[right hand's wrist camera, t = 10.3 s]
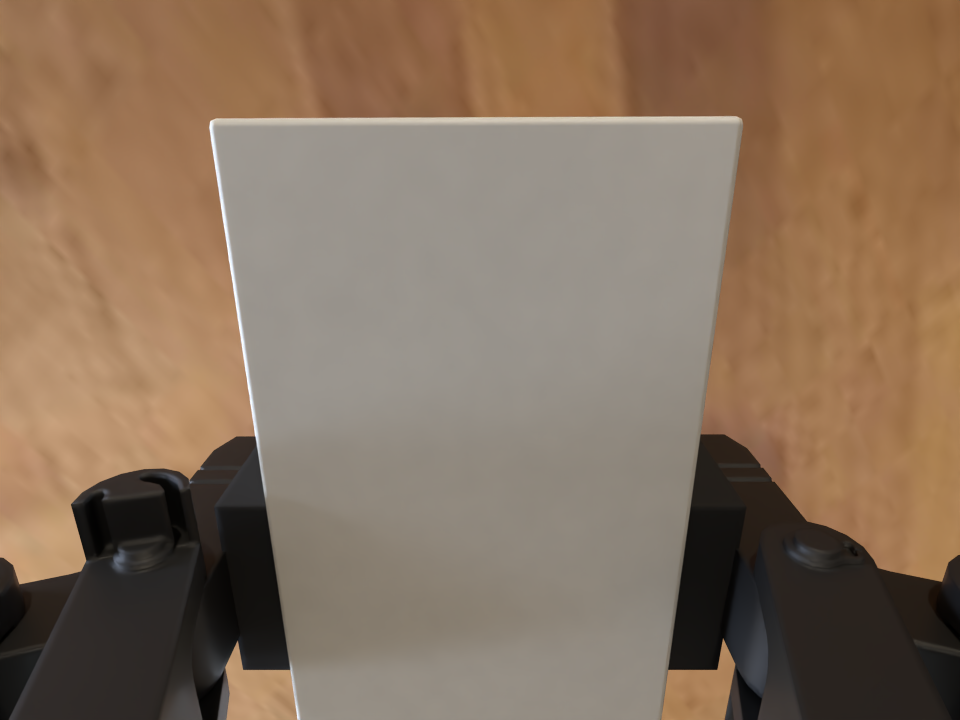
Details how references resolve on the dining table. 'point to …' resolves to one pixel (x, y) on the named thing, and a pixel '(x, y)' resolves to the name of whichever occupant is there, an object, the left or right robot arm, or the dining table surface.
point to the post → (477, 399)
